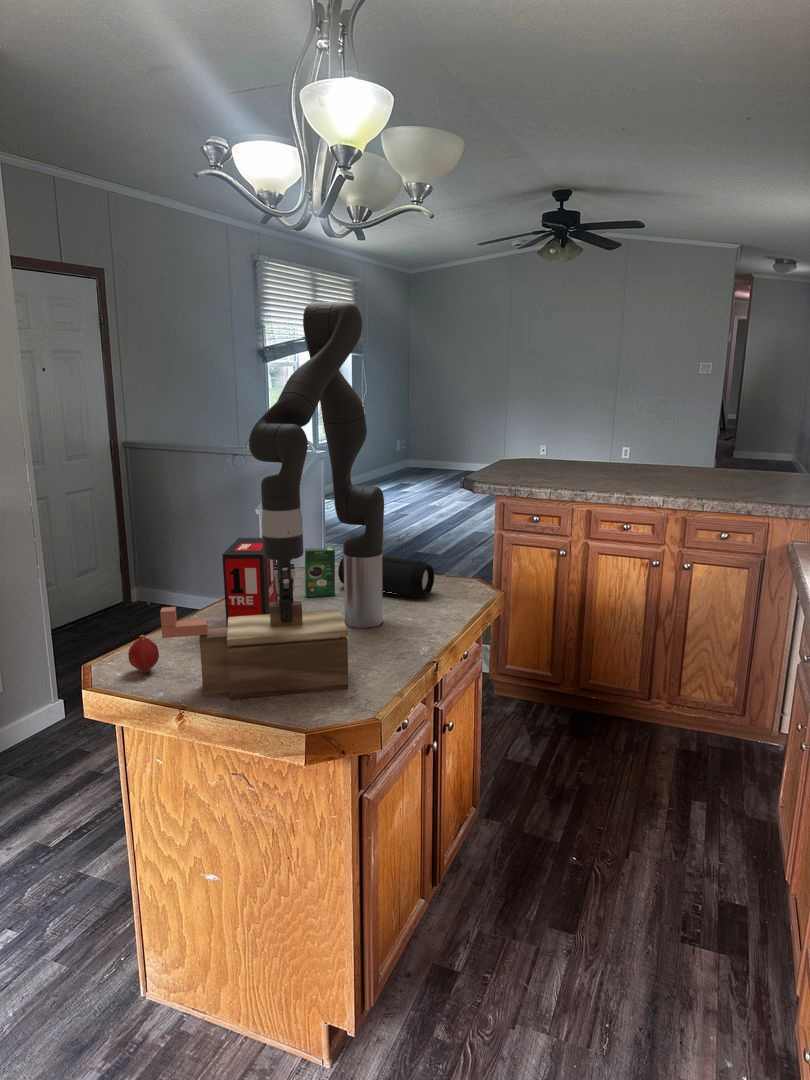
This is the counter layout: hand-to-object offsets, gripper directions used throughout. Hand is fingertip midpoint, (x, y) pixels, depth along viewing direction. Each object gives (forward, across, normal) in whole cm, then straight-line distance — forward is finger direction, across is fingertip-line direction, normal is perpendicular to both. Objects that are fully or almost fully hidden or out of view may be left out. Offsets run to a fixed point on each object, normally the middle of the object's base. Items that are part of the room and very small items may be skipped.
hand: (286, 618), depth 140 cm
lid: (+3, 0, 0) cm, 3 cm away
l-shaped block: (+1, 0, +19) cm, 19 cm away
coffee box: (+13, +55, -12) cm, 58 cm away
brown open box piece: (+13, 0, +3) cm, 13 cm away
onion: (+13, +11, +28) cm, 33 cm away
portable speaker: (+14, +55, -30) cm, 64 cm away
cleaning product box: (+13, +33, +6) cm, 36 cm away
